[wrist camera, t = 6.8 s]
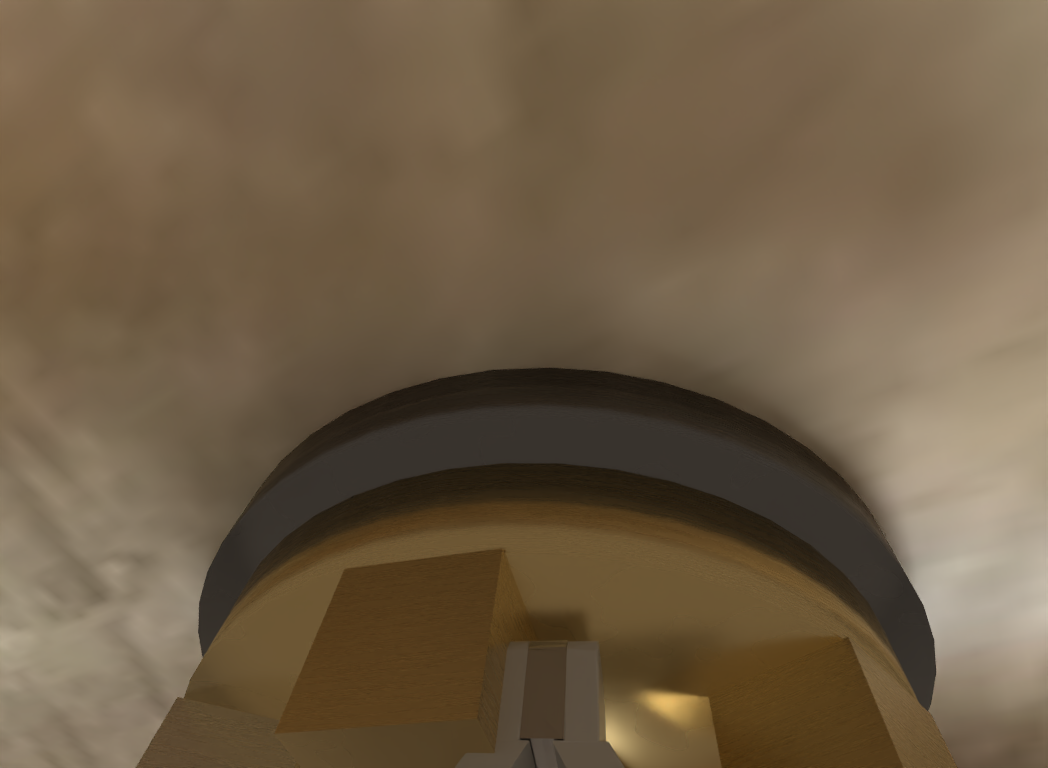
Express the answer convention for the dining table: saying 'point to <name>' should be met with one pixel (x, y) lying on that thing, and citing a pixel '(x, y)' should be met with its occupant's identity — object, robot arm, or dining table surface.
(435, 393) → the nut base
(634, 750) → the ring nut
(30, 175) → the dining table surface
